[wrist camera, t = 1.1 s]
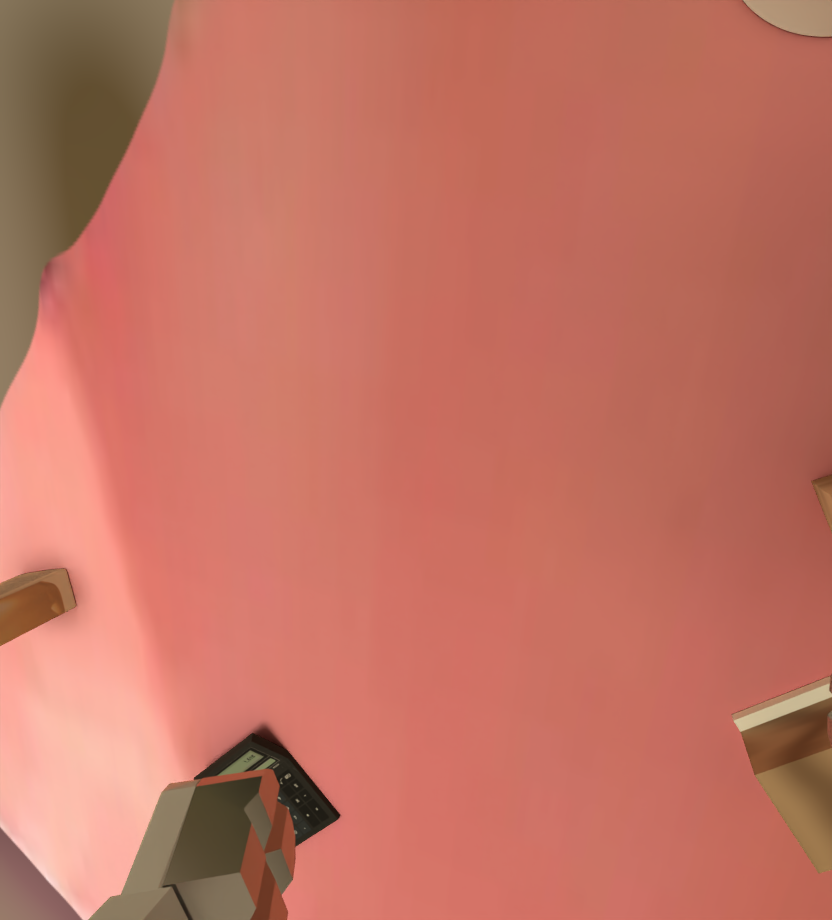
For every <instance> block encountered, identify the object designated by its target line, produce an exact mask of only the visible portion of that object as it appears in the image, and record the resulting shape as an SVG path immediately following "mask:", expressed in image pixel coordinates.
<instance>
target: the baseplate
mask: <svg viewBox="0 0 832 920" xmlns="http://www.w3.org/2000/svg"><path fill="white" fill-rule="evenodd" d="M829 686H830V676H829V677H826V678H824V679H821V680H819V681H816V682H814V683H811V684H808V685H806V686H803V687H801V688H798V689H796V690H793V691H791V692H788V693H786V694H783V695H780V696H778V697H775V698H773V699H770V700H768V701H765V702H763V703H760V704H758V705H755V706H752V707H750V708H747V709H745V710H742V711H740V712H737V713H735V714H732V718H733V721H734V722H735V724H736V725H737V727H738V728H739V730H740V732H742V731H744V730H747V729H749V728H752V727H755V726H757V725H760V724H762V723H765V722H768V721H770V720H773V719H776V718H778V717H781V716H783V715H786V714H789V713H791V712H794V711H797V710H799V709H802V708H804V707H807V706H810V705H812V704H815V703H818V702H820V701H823V700H825V699H828V698H831V697H832V693H831V692H830V691H829Z"/></svg>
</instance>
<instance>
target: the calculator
mask: <svg viewBox="0 0 832 920" xmlns="http://www.w3.org/2000/svg"><path fill="white" fill-rule="evenodd" d="M261 769H271V770H273V772H274V774H275V776H276V779H277V781H278V783H279V786H280V787H279V792H278V798H277V801H278V802H279V803H281V804H283V805H284V806H286V807H287V808H288V810H289V813H290V815H291V818H292V822H293V827H294V833H295V847H296V846H297V845H299V844H300V843H302V842H303V841H305V840H306V839H308V838H310V837H311V836H313V835H314V834H316V833H317V832H319V831H321V830H322V829H324V828H325V827H327V826H328V825H330V824H331V823H333V822H335V821H336V820H338V818H339V817H340V814H339V813H338V812H337V810H336V809H335V808H334V807H333V806H332V804H331V803H330V802H329V801H328V799H327V798H326V797H325V796H324V795H323V793H322V792H321V791H320V790H319V788H318V787H317V786H316V785H315V784H314V782H313V781H312V780H311V779H310V777H309V776H308V775H307V774H306V773H305V771H304V770H303V769H302V768H301V766H300V765H299V764H298V763H297V762H296V760H295V759H294V758H293V757H292V755H291V754H290V753H289V752H288V751H287V750H285V749H283V748H281V747H279V746H278V745H276V744H274V743H272V742H270V741H268V740H266V739H264V738H262V737H260V736H258V735H256V734H254V733H252V734H251V735H249V736H248V737H247V738H246V739H244V740H243V741H242V742H240V743H239V744H238V745H236V746H235V747H234V748H232V749H231V750H230V751H229V752H227V753H226V754H225V755H223V756H222V757H221V758H219V759H218V760H217V761H215V762H214V763H213V764H211V765H210V766H209V767H208V768H206V769H205V770H204V771H202V772H201V773H200V774H198V775H197V776H196V777H194V780H198V779H202V778H207V777H214V776H220V775H227V774H234V773H241V772H248V771H254V770H261Z"/></svg>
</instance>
